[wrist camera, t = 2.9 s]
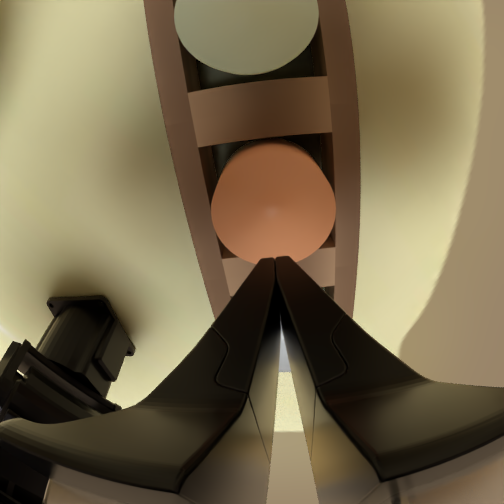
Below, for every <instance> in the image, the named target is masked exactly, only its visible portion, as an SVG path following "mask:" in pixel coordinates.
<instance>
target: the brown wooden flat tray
mask: <svg viewBox="0 0 504 504" xmlns="http://www.w3.org/2000/svg"><path fill="white" fill-rule="evenodd" d="M317 3H318V11H319V17H318V24H317V29H316V31H315V34H314V36H313V38H312V40H311V41H310V47H311V54H312V62H313V70H314V77H300V78H287V79H275V80H266V81H257V82H249V83H241V84H235V85H228V86H222V87H216V88H210V89H205V90H201V87H200V81H199V76H198V70H197V64H196V58H195V57H194V56H193V55H192V54H191V53H190V52H189V51H188V50H187V49H186V48H185V47H184V45H183V44H182V42H181V40H180V39H179V36H178V34H177V31H176V27H175V22H174V10H175V4H176V0H144V7H145V14H146V21H147V28H148V35H149V41H150V47H151V53H152V59H153V65H154V70H155V76H156V81H157V87H158V92H159V97H160V102H161V107H162V112H163V117H164V122H165V127H166V132H167V136H168V141H169V145H170V150H171V154H172V159H173V163H174V168H175V172H176V176H177V180H178V185H179V189H180V193H181V197H182V201H183V205H184V209H185V213H186V217H187V221H188V225H189V229H190V233H191V236H192V240H193V244H194V248H195V251H196V255H197V259H198V262H199V266H200V269H201V273H202V276H203V280H204V284H205V287H206V290H207V294H208V297H209V301H210V304H211V307H212V311H213V314H214V317H215V320H216V318H217V317H218V316H219V314H220V313H221V312H222V310H223V309H224V308H225V306H226V305H227V303H228V302H229V301H230V299H231V298H232V297H233V295H234V294H235V293H236V291H237V290H238V289H239V287H240V286H241V284H242V283H243V282H244V280H245V279H246V278H247V276H248V275H249V274H250V272H251V271H252V269H253V268H254V267H255V265H256V264H254V263H250V262H248V261H245V260H243V259H241V258H239V257H238V256H236V255H235V254H233V253H232V252H231V251H230V250H229V249H228V248H226V247H225V245H224V244H223V243H222V242H221V240H220V239H219V237H218V236H217V233H216V231H215V229H214V226H213V223H212V217H211V204H212V198H213V195H214V192H215V189H216V186H217V184H218V180H217V175H216V170H215V165H214V159H213V154H212V148H211V145H216V144H222V143H229V142H236V141H243V140H251V139H259V138H268V137H277V136H287V135H298V134H311V133H320V142H321V157H322V172H323V174H324V176H325V177H326V179H327V180H328V182H329V184H330V186H331V188H332V190H333V193H334V197H335V202H336V216H335V221H334V225H333V228H332V230H331V232H330V234H329V236H328V238H327V239H326V240H325V242H324V243H323V244H322V245H321V246H320V248H318V249H317V250H316V251H315V252H314V253H312V254H311V255H310V256H308V257H306V258H304V259H302V260H300V261H298V262H296V263H297V264H298V265H299V266H300V267H301V268H302V269H303V270H304V271H305V272H306V273H307V274H308V275H309V276H310V277H311V278H312V279H313V280H314V281H315V282H316V283H317V284H318V285H319V286H320V287H325V292H326V293H327V294H328V295H329V296H330V297H331V298H332V299H333V300H334V301H335V302H336V303H337V304H338V305H339V306H340V307H341V308H342V309H343V310H344V311H345V312H346V314H348V315H349V316H350V317H351V318H353V309H354V299H355V289H356V277H357V264H358V249H359V228H360V132H359V113H358V98H357V85H356V75H355V65H354V56H353V48H352V40H351V33H350V26H349V20H348V14H347V8H346V2H345V0H317Z"/></svg>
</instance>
